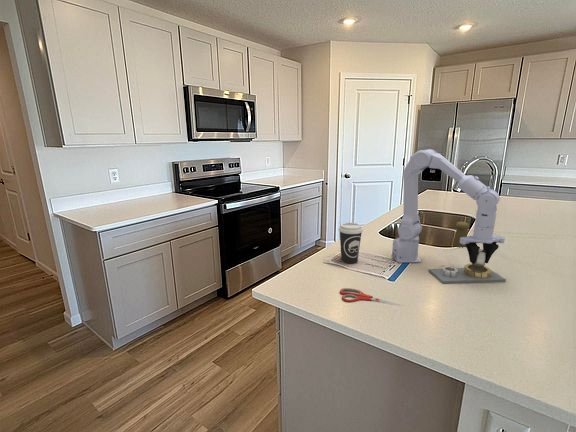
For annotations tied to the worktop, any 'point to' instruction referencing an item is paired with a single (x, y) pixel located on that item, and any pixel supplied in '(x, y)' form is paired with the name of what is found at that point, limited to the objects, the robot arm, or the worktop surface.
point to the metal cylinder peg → (480, 259)
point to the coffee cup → (350, 242)
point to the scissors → (360, 296)
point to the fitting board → (465, 277)
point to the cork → (460, 233)
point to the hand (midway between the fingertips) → (478, 262)
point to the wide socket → (483, 274)
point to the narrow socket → (449, 271)
